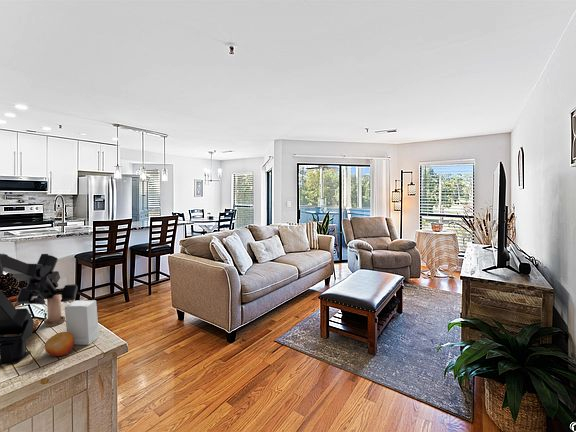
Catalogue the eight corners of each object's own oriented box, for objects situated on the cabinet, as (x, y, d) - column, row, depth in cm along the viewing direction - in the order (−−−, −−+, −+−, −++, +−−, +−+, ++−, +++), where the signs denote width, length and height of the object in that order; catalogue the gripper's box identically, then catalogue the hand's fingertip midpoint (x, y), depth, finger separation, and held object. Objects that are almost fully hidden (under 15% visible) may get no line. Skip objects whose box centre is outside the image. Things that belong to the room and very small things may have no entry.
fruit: (84, 341, 106) (74, 328, 101) (69, 363, 99) (57, 350, 95) (64, 340, 107) (53, 327, 102) (47, 361, 100) (35, 348, 96)
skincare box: (99, 337, 112) (98, 299, 111) (88, 346, 106) (87, 306, 105) (77, 337, 112) (76, 299, 111) (65, 345, 106) (64, 305, 105)
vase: (57, 323, 121) (56, 290, 120) (45, 323, 120) (44, 290, 119) (63, 318, 125) (62, 286, 124) (52, 319, 125) (51, 286, 123)
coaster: (58, 326, 120) (58, 322, 120) (39, 326, 119) (39, 323, 119) (68, 318, 127) (68, 315, 127) (50, 319, 126) (50, 316, 126)
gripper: (75, 265, 120) (85, 283, 131) (19, 268, 114) (35, 286, 126) (68, 290, 113) (79, 307, 124) (8, 294, 107) (25, 311, 119)
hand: (55, 302), depth 123 cm, fingers open, 7 cm apart
